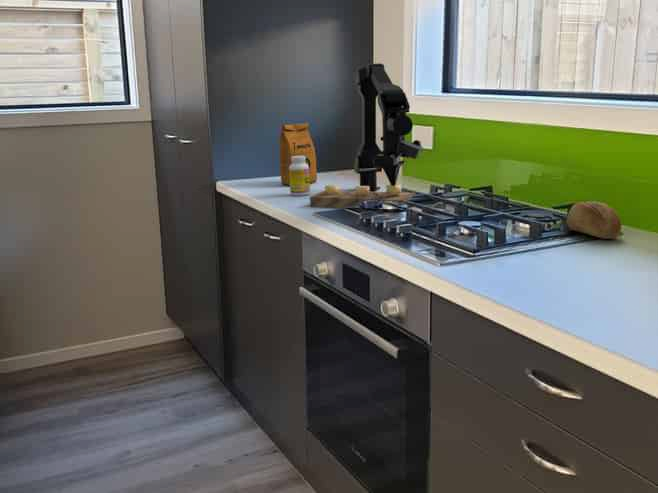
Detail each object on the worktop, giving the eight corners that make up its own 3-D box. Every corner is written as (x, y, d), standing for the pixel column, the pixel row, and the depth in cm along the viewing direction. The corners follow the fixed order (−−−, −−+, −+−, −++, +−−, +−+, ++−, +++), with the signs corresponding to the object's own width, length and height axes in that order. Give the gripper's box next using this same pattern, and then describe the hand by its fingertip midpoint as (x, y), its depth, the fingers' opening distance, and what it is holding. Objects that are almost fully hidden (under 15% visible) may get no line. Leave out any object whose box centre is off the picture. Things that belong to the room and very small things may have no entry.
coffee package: (320, 183, 253) (317, 122, 247) (290, 187, 247) (286, 125, 241) (308, 180, 261) (305, 121, 256) (278, 184, 255) (274, 124, 250)
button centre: (358, 201, 214) (358, 185, 213) (372, 202, 212) (371, 185, 211) (353, 204, 210) (352, 188, 209) (367, 205, 208) (366, 188, 207)
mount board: (310, 206, 212) (309, 196, 211) (325, 199, 222) (325, 190, 222) (404, 210, 200) (403, 200, 199) (415, 202, 211) (415, 192, 210)
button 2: (389, 200, 210) (388, 184, 208) (403, 201, 208) (402, 184, 207) (384, 203, 206) (384, 186, 205) (398, 204, 204) (398, 187, 203)
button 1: (329, 200, 218) (328, 184, 217) (341, 201, 216) (341, 185, 215) (323, 203, 214) (322, 187, 213) (336, 203, 212) (335, 187, 211)
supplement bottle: (307, 196, 229) (305, 157, 225) (288, 196, 230) (286, 158, 227) (312, 192, 235) (310, 155, 232) (293, 193, 236) (291, 155, 233)
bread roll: (596, 244, 155) (598, 209, 153) (555, 230, 169) (556, 198, 167) (631, 239, 158) (633, 205, 156) (588, 226, 172) (589, 194, 170)
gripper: (409, 136, 190) (410, 192, 194) (427, 129, 207) (428, 181, 211) (371, 136, 195) (373, 190, 199) (392, 129, 211) (393, 180, 215)
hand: (393, 185), depth 206 cm, fingers closed, pressing on button 2
